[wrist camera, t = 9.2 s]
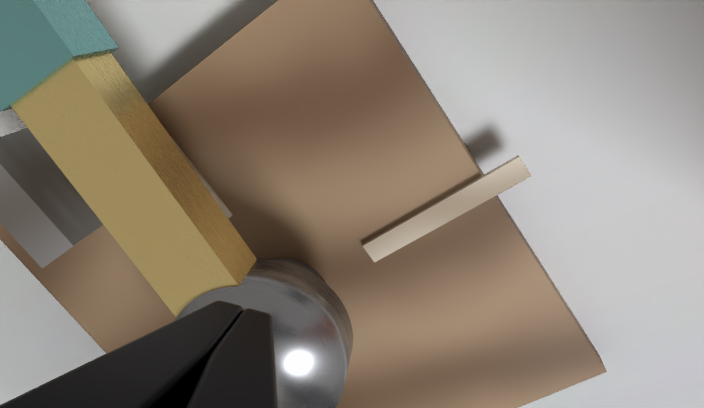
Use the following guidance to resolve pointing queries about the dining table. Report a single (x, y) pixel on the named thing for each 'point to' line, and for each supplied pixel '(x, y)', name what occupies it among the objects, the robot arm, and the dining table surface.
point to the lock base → (329, 215)
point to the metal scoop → (160, 194)
